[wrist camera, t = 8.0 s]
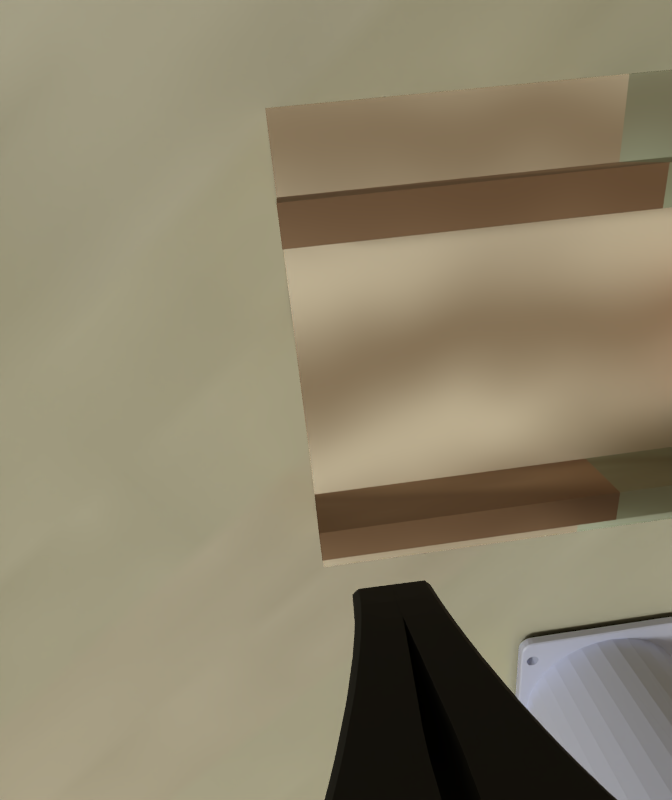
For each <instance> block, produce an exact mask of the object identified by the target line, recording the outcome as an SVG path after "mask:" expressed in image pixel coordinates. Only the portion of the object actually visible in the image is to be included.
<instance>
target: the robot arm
mask: <svg viewBox="0 0 672 800" xmlns="http://www.w3.org/2000/svg"><path fill="white" fill-rule="evenodd" d="M353 606H354V618H355V634H354V648H353V659H352V666H351V674H350V681H349V688H348V695H347V701H346V707H345V712H344V717H343V722H342V727H341V732H340V737H339V742H338V746H337V751H336V756H335V760H334V764H333V769H332V773H331V777H330V781H329V785H328V789H327V793H326V797H325V800H672V617H665V618H659V619H652V620H645V621H639V622H632V623H625V624H619V625H612V626H605V627H599V628H592V629H585V630H579V631H572V632H565V633H559V634H552V635H545V636H539V637H532V638H528V639H525V640H524V641H522V643H521V644H520V646H519V654H518V668H517V683H516V696H515V695H514V694H513V693H512V692H511V690H510V689H509V688H508V687H507V686H506V685H505V683H504V682H503V681H502V680H501V679H500V677H499V676H498V675H497V674H496V673H495V671H494V670H493V669H492V668H491V667H490V665H489V664H488V663H487V662H486V661H485V659H484V658H483V657H482V656H481V655H480V653H479V652H478V651H477V649H476V648H475V647H474V646H473V644H472V643H471V642H470V641H469V639H468V638H467V637H466V635H465V634H464V633H463V631H462V630H461V629H460V627H459V626H458V625H457V623H456V622H455V621H454V619H453V618H452V616H451V615H450V614H449V612H448V611H447V609H446V608H445V606H444V605H443V604H442V602H441V601H440V599H439V598H438V596H437V595H436V593H435V592H434V590H433V588H432V587H431V585H430V584H428V583H427V582H426V581H417V582H409V583H402V584H394V585H386V586H379V587H371V588H363V589H358V590H357V591H356V592H355V593H354V594H353Z"/></svg>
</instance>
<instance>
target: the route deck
mask: <svg viewBox="0 0 672 800" xmlns="http://www.w3.org/2000/svg"><path fill="white" fill-rule="evenodd" d="M265 109H266V117H267V125H268V133H269V141H270V149H271V156H272V164H273V172H274V180H275V188H276V195H277V210H278V218H279V226H280V233H281V241H282V249H283V250H284V258H285V266H286V274H287V281H288V289H289V297H290V305H291V313H292V320H293V328H294V336H295V344H296V352H297V360H298V367H299V375H300V383H301V391H302V399H303V406H304V414H305V422H306V430H307V438H308V445H309V453H310V461H311V469H312V477H313V485H314V492H315V501H316V510H317V519H318V528H319V537H320V544H321V552H322V560H323V563H324V567H329V566H336V565H343V564H350V563H357V562H365V561H372V560H379V559H386V558H393V557H400V556H407V555H415V554H422V553H429V552H436V551H443V550H450V549H457V548H464V547H472V546H479V545H486V544H493V543H500V542H507V541H514V540H522V539H529V538H536V537H543V536H550V535H557V534H564V533H572V532H579V531H586V530H593V529H600V528H607V527H614V526H621V525H629V524H636V523H643V522H650V521H657V520H664V519H671V518H672V70H664V71H654V72H643V73H632V74H622V75H611V76H601V77H590V78H580V79H569V80H559V81H548V82H537V83H527V84H516V85H506V86H495V87H485V88H474V89H464V90H453V91H442V92H432V93H421V94H411V95H400V96H390V97H379V98H369V99H358V100H347V101H337V102H326V103H316V104H305V105H295V106H284V107H274V108H265Z"/></svg>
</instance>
